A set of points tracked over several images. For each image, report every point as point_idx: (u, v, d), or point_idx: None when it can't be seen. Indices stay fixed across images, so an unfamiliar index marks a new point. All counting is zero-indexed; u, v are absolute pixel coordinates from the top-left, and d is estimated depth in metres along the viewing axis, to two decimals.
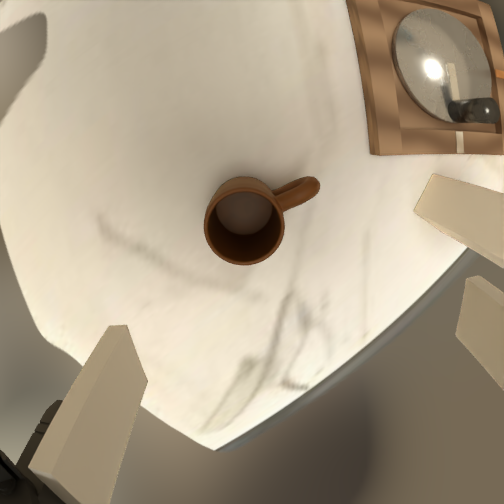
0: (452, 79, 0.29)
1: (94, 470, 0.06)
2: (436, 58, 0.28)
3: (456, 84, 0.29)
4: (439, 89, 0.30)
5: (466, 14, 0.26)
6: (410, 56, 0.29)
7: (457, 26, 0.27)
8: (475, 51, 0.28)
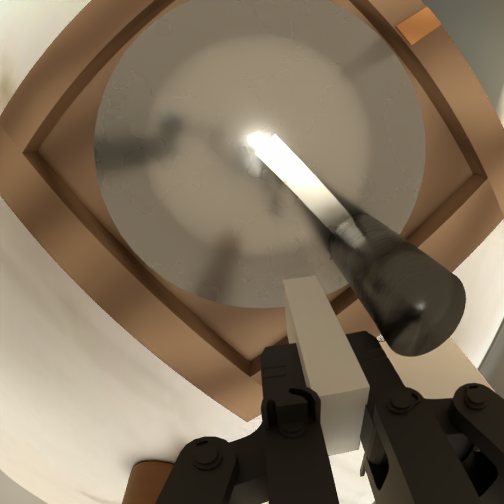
0: (298, 183, 0.14)
1: None
2: (224, 170, 0.14)
3: (317, 183, 0.14)
4: (285, 239, 0.15)
5: None
6: (168, 238, 0.15)
7: (217, 12, 0.11)
8: (309, 25, 0.11)
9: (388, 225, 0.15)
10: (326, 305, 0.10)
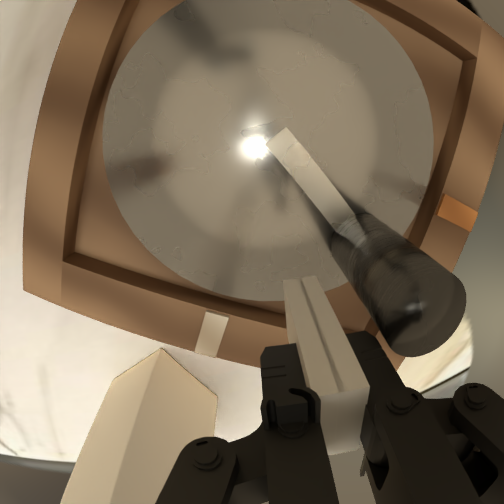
0: (305, 178, 0.14)
1: None
2: (232, 159, 0.14)
3: (324, 179, 0.14)
4: (287, 233, 0.15)
5: (434, 36, 0.12)
6: (169, 222, 0.15)
7: (238, 2, 0.11)
8: (328, 23, 0.11)
9: (390, 227, 0.15)
10: (326, 305, 0.10)
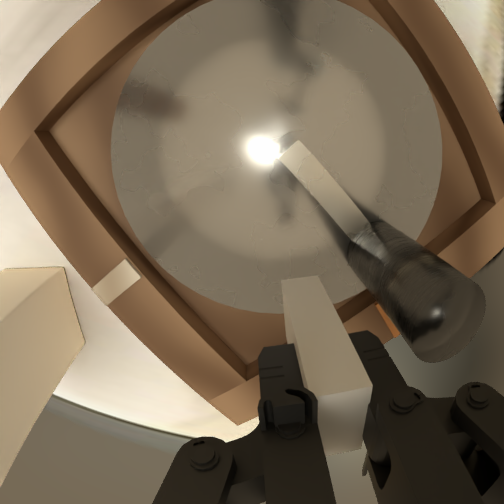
0: (320, 190, 0.14)
1: None
2: (246, 174, 0.14)
3: (338, 189, 0.14)
4: (304, 245, 0.15)
5: (473, 163, 0.14)
6: (186, 241, 0.15)
7: (242, 13, 0.11)
8: (334, 32, 0.11)
9: (404, 233, 0.15)
10: (328, 305, 0.10)
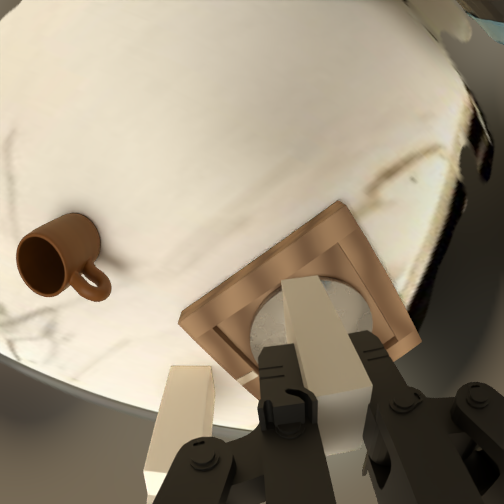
0: None
1: None
2: None
3: None
4: None
5: (389, 327, 0.40)
6: None
7: None
8: (335, 297, 0.37)
9: None
10: (328, 305, 0.10)
